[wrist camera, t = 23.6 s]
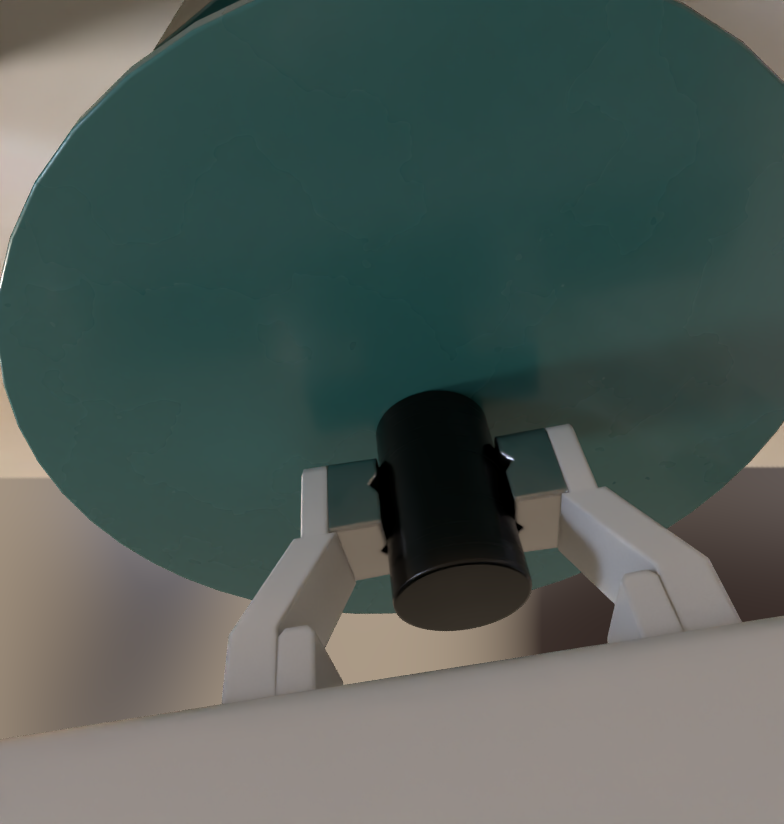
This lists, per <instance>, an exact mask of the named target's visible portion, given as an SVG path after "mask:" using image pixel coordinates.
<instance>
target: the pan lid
mask: <svg viewBox="0 0 784 824" xmlns="http://www.w3.org/2000/svg"><path fill="white" fill-rule="evenodd" d="M0 365H1V371H2V377H3V384H4V388H5V390H6V393H7V396H8V399H9V402H10V404H11V407H12V410H13V413H14V416H15V419H16V421H17V424H18V427H19V429H20V430H21V432H22V434H23V436H24V437H25V439H26V441H27V443H28V445H29V446H30V448H31V450H32V452H33V454H34V455H35V457H36V459H37V461H38V462H39V464H40V465H41V466H42V468H43V469H44V470H45V471H46V473H47V474H48V475H49V477H50V478H51V479H52V480H53V482H54V483H55V484H56V486H57V487H58V488H59V489H60V491H61V492H62V493H63V494H64V495H65V496H66V497H67V498H68V499H69V500H70V501H71V502H72V503H73V504H74V505H75V506H76V507H77V508H78V509H79V510H80V511H81V512H82V513H83V514H84V515H85V516H86V517H87V518H88V519H89V520H90V521H92V522H93V523H94V524H96V525H97V526H98V527H100V528H101V529H102V530H103V531H105V532H106V533H107V534H109V535H110V536H112V537H113V538H114V539H115V540H117V541H118V542H119V543H121V544H123V545H124V546H126V547H128V548H129V549H131V550H132V551H134V552H136V553H137V554H139V555H140V556H142V557H144V558H146V559H147V560H149V561H150V562H152V563H154V564H156V565H158V566H161V567H163V568H165V569H167V570H169V571H171V572H173V573H175V574H177V575H179V576H182V577H184V578H186V579H189V580H191V581H194V582H197V583H200V584H202V585H205V586H207V587H210V588H213V589H215V590H218V591H222V592H225V593H229V594H232V595H236V596H240V597H243V598H247V599H250V600H253V599H254V597H255V596H256V594H257V593H258V591H259V590H260V588H261V587H262V585H263V584H264V582H265V581H266V579H267V578H268V576H269V575H270V573H271V572H272V570H273V569H274V567H275V566H276V564H277V563H278V561H279V560H280V559H281V557H282V556H283V554H284V553H285V551H286V550H287V548H288V547H289V545H290V544H291V542H292V541H293V539H296V538H301V483H302V474H303V470H304V469H309V468H315V467H322V466H328V465H333V464H340V463H347V462H354V461H361V460H367V459H374V458H376V459H377V461H378V465H379V468H380V478H381V487H382V503H383V510H384V517H385V527H386V537H387V552H388V562H389V572H390V574H388V575H383V576H378V577H373V578H368V579H362V580H357V581H355V582H356V585H355V587H354V589H353V591H352V593H351V595H350V597H349V599H348V601H347V603H346V605H345V608H344V610H343V612H342V613H354V614H371V613H372V614H377V613H378V614H382V613H397V615H398V616H399V617H400V618H401V619H402V620H403V621H405V622H407V623H408V624H411V625H413V626H415V627H419V628H422V629H427V630H435V631H456V630H465V629H472V628H476V627H481V626H484V625H488V624H491V623H494V622H496V621H498V620H501V619H503V618H505V617H507V616H509V615H511V614H512V613H514V612H515V611H516V610H518V609H519V608H520V607H522V606H523V605H524V603H525V602H526V601H527V600H528V598H529V596H530V594H531V590H533V589H537V588H539V587H542V586H546V585H549V584H552V583H555V582H558V581H561V580H564V579H566V578H569V577H571V576H574V575H576V574H579V573H581V571H580V570H579V569H578V568H577V567H576V566H575V565H574V564H572V563H571V562H570V561H569V560H568V559H567V558H566V557H565V556H564V555H563V554H562V553H561V552H560V551H559V550H558V547H557V548H550V549H543V550H536V551H529V552H524V551H523V547H522V544H521V540H520V536H519V533H518V529H517V526H516V522H515V520H514V516H513V513H512V509H511V506H510V502H509V499H508V495H507V491H506V487H505V483H504V480H503V476H502V473H501V470H500V467H499V463H498V459H497V456H496V452H495V449H494V438H495V437H496V436H501V435H507V434H512V433H517V432H523V431H528V430H533V429H539V428H543V429H544V428H547V427H552V426H558V425H564V424H570V425H571V426H572V427H573V429H574V431H575V434H576V436H577V438H578V441H579V443H580V445H581V448H582V450H583V453H584V455H585V457H586V460H587V462H588V464H589V467H590V469H591V472H592V474H593V476H594V479H595V481H596V484H597V486H598V487H605V486H606V487H607V488H609V489H610V490H612V491H613V492H614V493H616V494H617V495H619V496H620V497H622V498H623V499H624V500H626V501H627V502H629V503H630V504H632V505H633V506H634V507H636V508H637V509H639V510H640V511H642V512H643V513H644V514H646V515H647V516H649V517H650V518H652V519H653V520H654V521H656V522H657V523H659V524H660V525H662V526H663V527H664V528H666V529H667V528H669V527H670V526H672V525H673V524H675V523H676V522H678V521H679V520H681V519H682V518H684V517H685V516H687V515H688V514H690V513H691V512H692V511H694V510H695V509H696V508H698V507H699V506H700V505H701V504H703V503H704V502H705V501H706V500H708V499H709V498H710V497H711V496H713V495H714V494H715V493H716V492H718V491H719V490H720V489H722V488H723V487H724V486H725V485H726V484H727V483H728V482H729V481H730V480H731V479H732V478H733V477H734V476H736V475H737V474H738V473H739V472H740V471H741V470H742V469H743V468H744V467H745V466H746V465H747V464H748V463H749V462H750V461H751V460H752V459H753V458H754V457H755V456H756V455H757V453H758V452H759V451H760V450H761V449H762V448H763V447H764V445H765V444H766V443H767V442H768V441H769V440H770V439H771V437H772V436H773V435H774V434H775V433H776V432H777V430H778V429H779V428H780V426H781V425H782V423H783V422H784V82H783V81H782V80H781V79H780V78H779V77H778V76H777V75H776V74H775V73H774V72H773V71H772V70H771V69H770V68H769V67H768V66H767V65H766V64H765V63H764V62H763V61H762V60H761V59H760V58H759V57H758V56H757V55H756V54H755V53H754V52H753V51H752V50H751V49H750V48H749V47H748V46H747V45H746V44H745V43H744V42H743V41H741V40H740V39H738V38H737V37H735V36H734V35H732V34H730V33H729V32H727V31H726V30H724V29H723V28H721V27H720V26H718V25H717V24H715V23H713V22H712V21H710V20H709V19H707V18H706V17H704V16H703V15H701V14H700V13H698V12H696V11H695V10H693V9H692V8H690V7H689V6H687V5H686V4H684V3H682V2H680V1H679V0H240V1H238V2H236V3H233V4H231V5H229V6H227V7H225V8H223V9H221V10H219V11H217V12H215V13H213V14H211V15H208V16H206V17H204V18H202V19H200V20H198V21H196V22H194V23H193V24H192V25H190V26H189V27H187V28H186V29H184V30H183V31H182V32H180V33H179V34H177V35H176V36H174V37H173V38H172V39H170V40H169V41H167V42H166V43H164V44H163V45H162V46H160V47H159V48H157V49H156V50H154V51H153V52H152V53H150V54H149V55H147V56H146V57H144V58H143V59H142V60H140V61H139V62H137V63H136V64H134V65H133V66H132V67H131V68H130V69H129V70H128V71H127V72H126V73H125V74H124V75H123V76H122V77H121V78H120V79H118V80H117V81H116V82H115V83H114V84H113V85H112V86H111V87H110V88H109V89H108V90H107V91H106V92H105V93H104V94H103V95H102V96H101V97H100V98H99V99H98V100H97V101H96V102H95V103H94V104H93V105H92V106H91V107H90V108H89V109H88V110H87V111H86V112H85V113H84V114H83V115H82V116H81V117H80V119H79V120H78V121H77V123H76V124H75V126H74V127H73V128H72V130H71V131H70V133H69V134H68V135H67V137H66V138H65V140H64V141H63V143H62V144H61V145H60V147H59V148H58V150H57V151H56V153H55V154H54V155H53V157H52V158H51V160H50V161H49V163H48V164H47V165H46V167H45V168H44V170H43V171H42V173H41V174H40V175H39V177H38V178H37V180H36V181H35V183H34V185H33V187H32V189H31V192H30V194H29V196H28V198H27V201H26V203H25V205H24V207H23V209H22V212H21V214H20V216H19V218H18V221H17V223H16V225H15V227H14V229H13V232H12V234H11V236H10V240H9V244H8V248H7V253H6V257H5V261H4V265H3V270H2V274H1V278H0Z"/></svg>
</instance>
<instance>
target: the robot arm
mask: <svg viewBox="0 0 784 824" xmlns="http://www.w3.org/2000/svg"><path fill="white" fill-rule="evenodd" d="M494 449H495V452H496V456H497V459H498V463H499V467H500V470H501V473H502V476H503V480H504V483H505V487H506V491H507V495H508V499H509V502H510V506H511V509H512V513H513V516H514V520H515V522H516V526H517V529H518V533H519V536H520V540H521V544H522V547H523V551H524V552H529V551H536V550H543V549H550V548H557V547H558V550H559V551H560V552H561V553H562V554H563V555H564V556H565V557H566V558H567V559H568V560H569V561H570V562H571V563H572V564H574V565H575V566H576V567H577V568H578V569H579V570H580V571H581V572H582V573H583V574H584V575H585V576H586V577H587V578H588V579H589V580H590V581H591V582H592V583H593V584H595V585H596V586H597V587H598V588H599V589H600V590H601V591H602V592H603V593H604V594H605V595H606V596H607V597H608V598H609V599H610V600H611V601H612V602H613V603H614V604H615V607H614V612H613V616H612V621H611V625H610V629H609V634H608V638H607V640H608V644H602V645H596V646H589V647H583V648H576V649H570V650H563V651H557V652H550V653H544V654H538V655H531V656H525V657H518V658H513V659H506V660H500V661H493V662H487V663H480V664H474V665H468V666H461V667H455V668H449V669H442V670H436V671H430V672H424V673H417V674H410V675H405V676H399V677H391V678H385V679H379V680H372V681H366V682H360V683H353V684H347V685H343V681H342V679H341V677H340V675H339V674H338V672H337V670H336V668H335V666H334V664H333V663H332V661H331V659H330V657H329V655H328V653H327V652H326V650H325V647H326V645H327V643H328V641H329V639H330V636H331V634H332V632H333V630H334V628H335V626H336V624H337V622H338V620H339V618H340V616H341V614H342V612H343V610H344V608H345V605H346V603H347V601H348V599H349V597H350V595H351V593H352V591H353V589H354V587H355V585H356V582H355V581H357V580H362V579H368V578H373V577H378V576H383V575H388V574H390V572H389V562H388V552H387V537H386V527H385V517H384V510H383V503H382V487H381V478H380V468H379V465H378V461H377V459H376V458H374V459H367V460H361V461H354V462H347V463H340V464H333V465H328V466H322V467H315V468H309V469H304V470H303V474H302V483H301V538H296V539H293V541H292V542H291V544H290V545H289V547H288V548H287V550H286V551H285V553H284V554H283V556H282V557H281V559H280V560H279V561H278V563H277V564H276V566H275V567H274V569H273V570H272V572H271V573H270V575H269V576H268V578H267V579H266V581H265V582H264V584H263V585H262V587H261V588H260V590H259V591H258V593H257V594H256V596H255V597H254V599H253V600H252V602H251V603H250V604H249V606H248V608H247V609H246V611H245V612H244V613H243V615H242V617H241V618H240V619H239V621H238V622H237V624H236V625H235V627H234V628H233V630H232V631H231V633H230V634H229V637H228V647H227V656H226V666H225V676H224V685H223V696H222V704H220V705H214V706H207V707H201V708H195V709H188V710H182V711H176V712H170V713H163V714H157V715H150V716H144V717H137V718H131V719H125V720H118V721H113V722H106V723H100V724H93V725H87V726H81V727H74V728H68V729H61V730H55V731H49V732H42V733H36V734H30V735H23V736H17V737H11V738H5V739H0V824H784V616H780V617H774V618H767V619H761V620H755V621H748V622H741V620H740V618H739V616H738V614H737V612H736V610H735V608H734V606H733V604H732V602H731V600H730V598H729V597H728V595H727V593H726V591H725V589H724V587H723V585H722V583H721V581H720V579H719V577H718V575H717V574H716V572H715V570H714V568H713V566H712V564H711V562H710V560H709V558H707V557H706V556H705V555H703V554H702V553H700V552H699V551H697V550H696V549H695V548H693V547H692V546H690V545H689V544H687V543H686V542H685V541H683V540H682V539H680V538H679V537H677V536H676V535H674V534H673V533H672V532H670V531H669V530H667V529H666V528H664V527H663V526H662V525H660V524H659V523H657V522H656V521H654V520H653V519H652V518H650V517H649V516H647V515H646V514H644V513H643V512H642V511H640V510H639V509H637V508H636V507H634V506H633V505H632V504H630V503H629V502H627V501H626V500H624V499H623V498H622V497H620V496H619V495H617V494H616V493H614V492H613V491H612V490H610V489H609V488H607V487H606V486H605V487H598V486H597V484H596V481H595V479H594V476H593V474H592V472H591V469H590V467H589V464H588V462H587V460H586V457H585V455H584V453H583V450H582V448H581V445H580V443H579V441H578V438H577V436H576V434H575V431H574V429H573V427H572V426H571V425H570V424H564V425H558V426H552V427H547V428H544V429H543V428H539V429H533V430H528V431H523V432H517V433H512V434H507V435H501V436H496V437H495V438H494Z"/></svg>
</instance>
